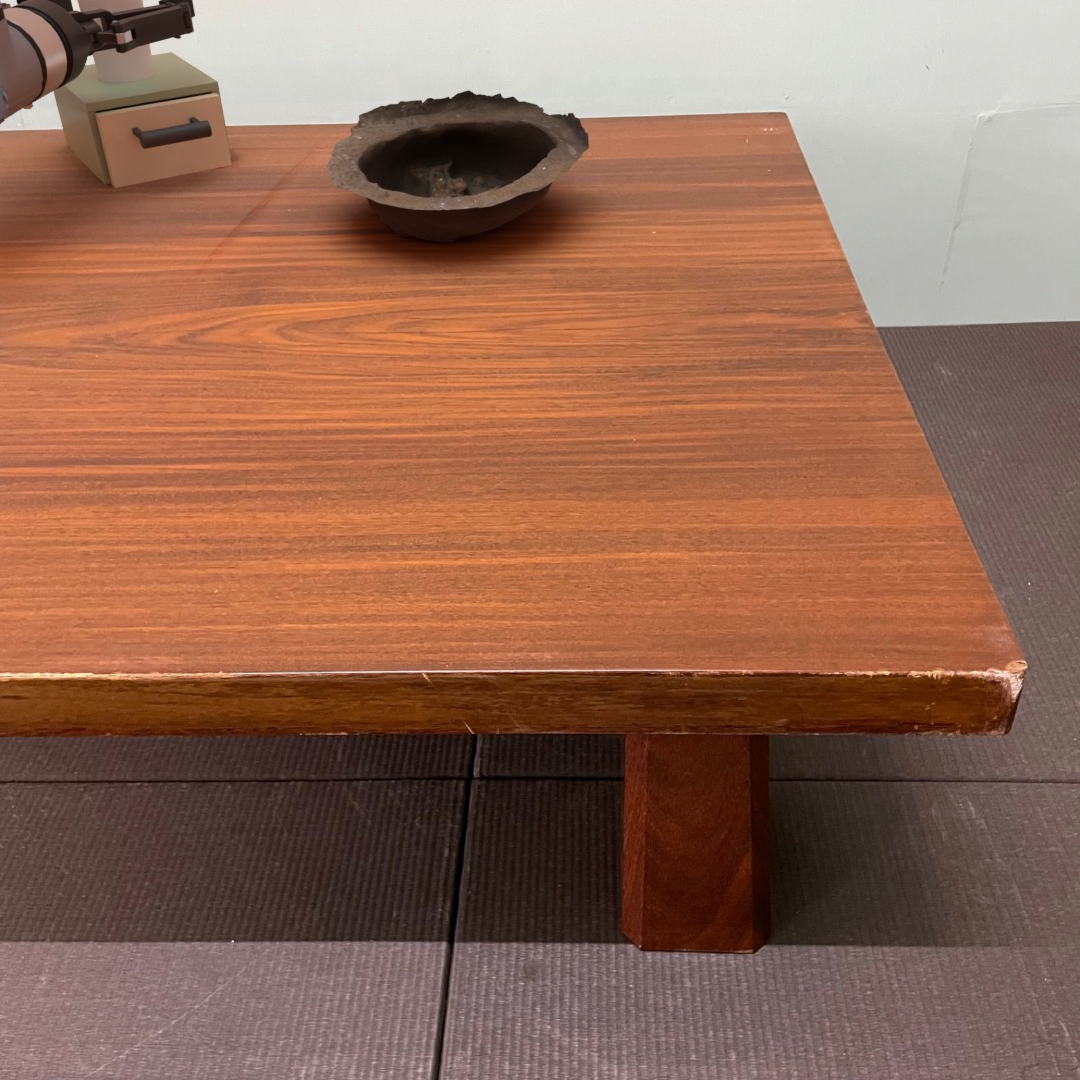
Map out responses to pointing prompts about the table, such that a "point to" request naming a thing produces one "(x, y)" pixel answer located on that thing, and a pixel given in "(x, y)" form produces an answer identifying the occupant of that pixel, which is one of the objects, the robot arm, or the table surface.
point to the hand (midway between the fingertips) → (128, 1)
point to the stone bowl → (455, 162)
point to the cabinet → (121, 102)
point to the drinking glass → (109, 61)
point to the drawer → (163, 138)
